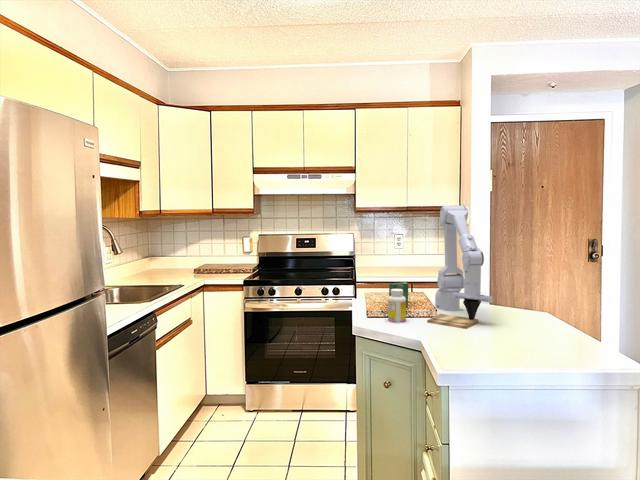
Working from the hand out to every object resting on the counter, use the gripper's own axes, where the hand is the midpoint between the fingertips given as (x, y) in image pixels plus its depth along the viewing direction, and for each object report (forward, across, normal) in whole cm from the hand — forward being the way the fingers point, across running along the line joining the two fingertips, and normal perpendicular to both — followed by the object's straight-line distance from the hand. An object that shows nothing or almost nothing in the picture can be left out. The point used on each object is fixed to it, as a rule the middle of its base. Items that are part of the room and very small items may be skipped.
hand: (471, 319), depth 178 cm
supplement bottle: (+2, -24, -14) cm, 28 cm away
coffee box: (+2, -30, -2) cm, 30 cm away
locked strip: (+1, -5, -9) cm, 11 cm away
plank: (+1, -6, -3) cm, 6 cm away
